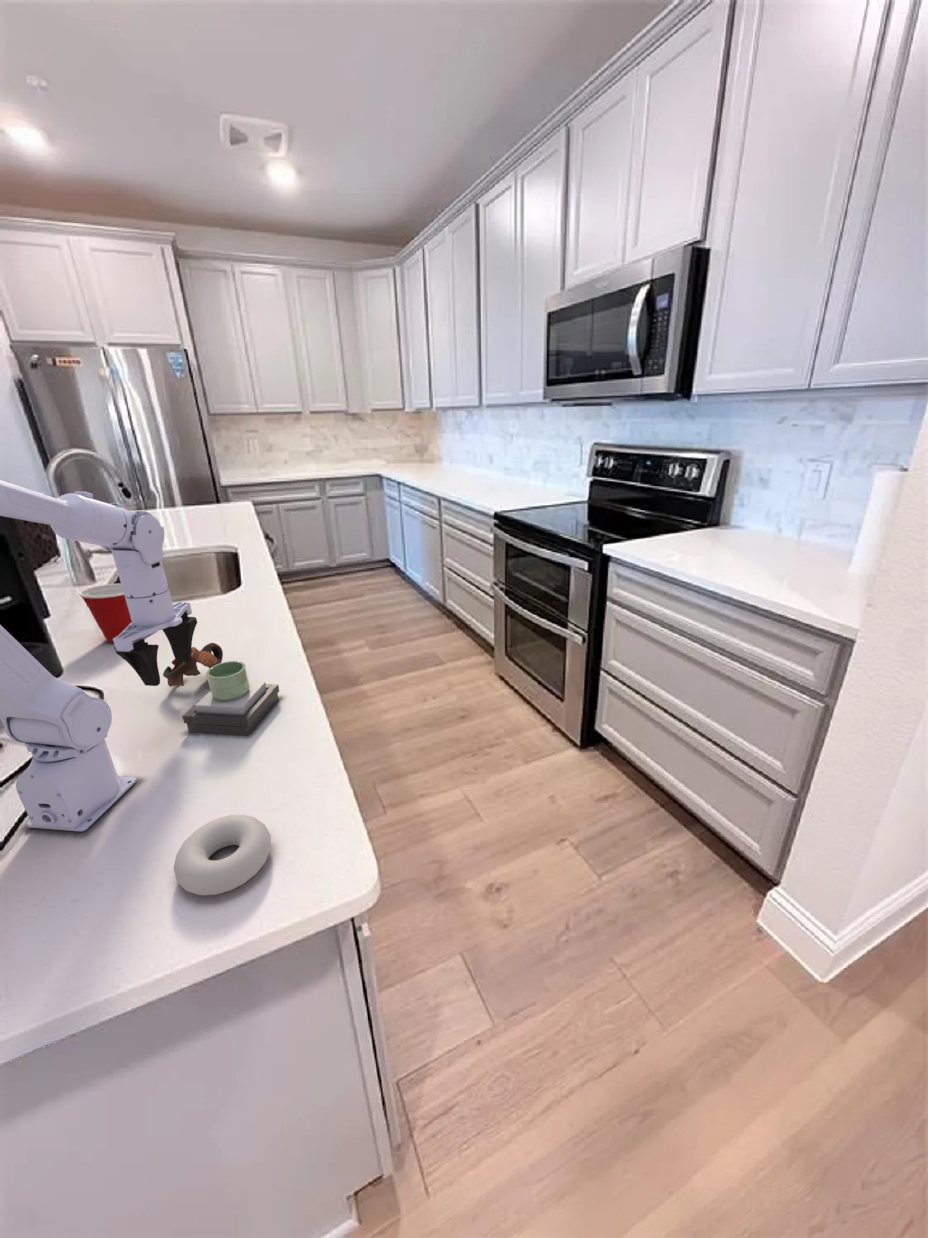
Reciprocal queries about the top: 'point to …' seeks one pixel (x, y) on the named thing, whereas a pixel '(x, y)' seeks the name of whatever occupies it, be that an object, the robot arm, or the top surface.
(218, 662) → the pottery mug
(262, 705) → the scale
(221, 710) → the scale pan
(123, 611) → the plastic cup
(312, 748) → the top surface
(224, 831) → the donut
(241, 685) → the bowl
